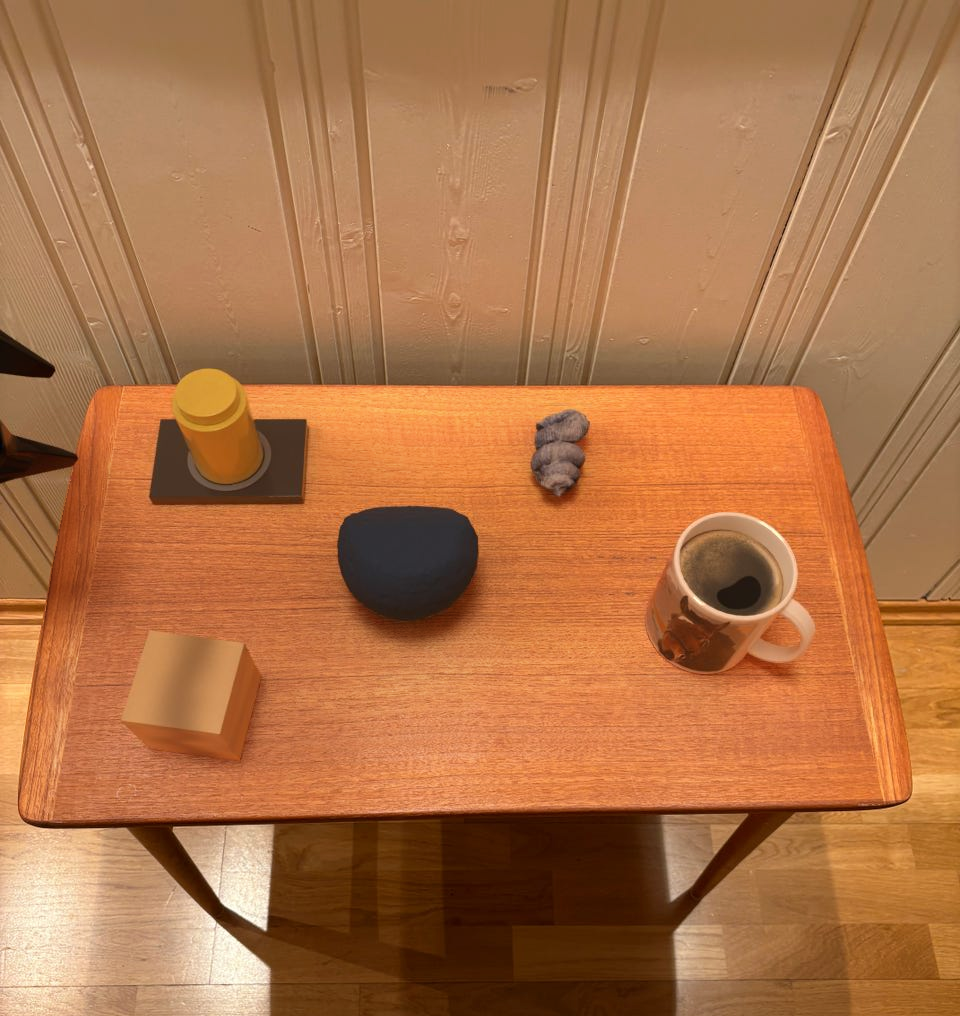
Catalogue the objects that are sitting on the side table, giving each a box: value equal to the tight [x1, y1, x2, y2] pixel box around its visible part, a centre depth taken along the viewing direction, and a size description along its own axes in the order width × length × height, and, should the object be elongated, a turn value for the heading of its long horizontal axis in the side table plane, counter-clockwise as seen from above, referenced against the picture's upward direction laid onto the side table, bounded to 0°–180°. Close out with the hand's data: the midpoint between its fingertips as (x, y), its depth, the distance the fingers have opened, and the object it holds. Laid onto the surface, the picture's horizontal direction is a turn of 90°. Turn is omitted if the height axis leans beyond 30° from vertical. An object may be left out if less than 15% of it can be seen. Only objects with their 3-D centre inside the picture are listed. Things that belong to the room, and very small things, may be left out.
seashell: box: [530, 408, 591, 498], centre depth 83 cm, size 5×5×10 cm
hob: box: [148, 418, 309, 505], centre depth 83 cm, size 14×9×1 cm, turn 92°
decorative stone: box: [336, 505, 480, 623], centre depth 74 cm, size 12×12×10 cm
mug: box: [644, 511, 816, 675], centre depth 73 cm, size 10×12×11 cm
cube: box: [120, 629, 262, 762], centre depth 70 cm, size 8×8×7 cm
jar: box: [171, 368, 263, 484], centre depth 78 cm, size 6×6×9 cm
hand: (64, 415), depth 68 cm, fingers open, 9 cm apart
